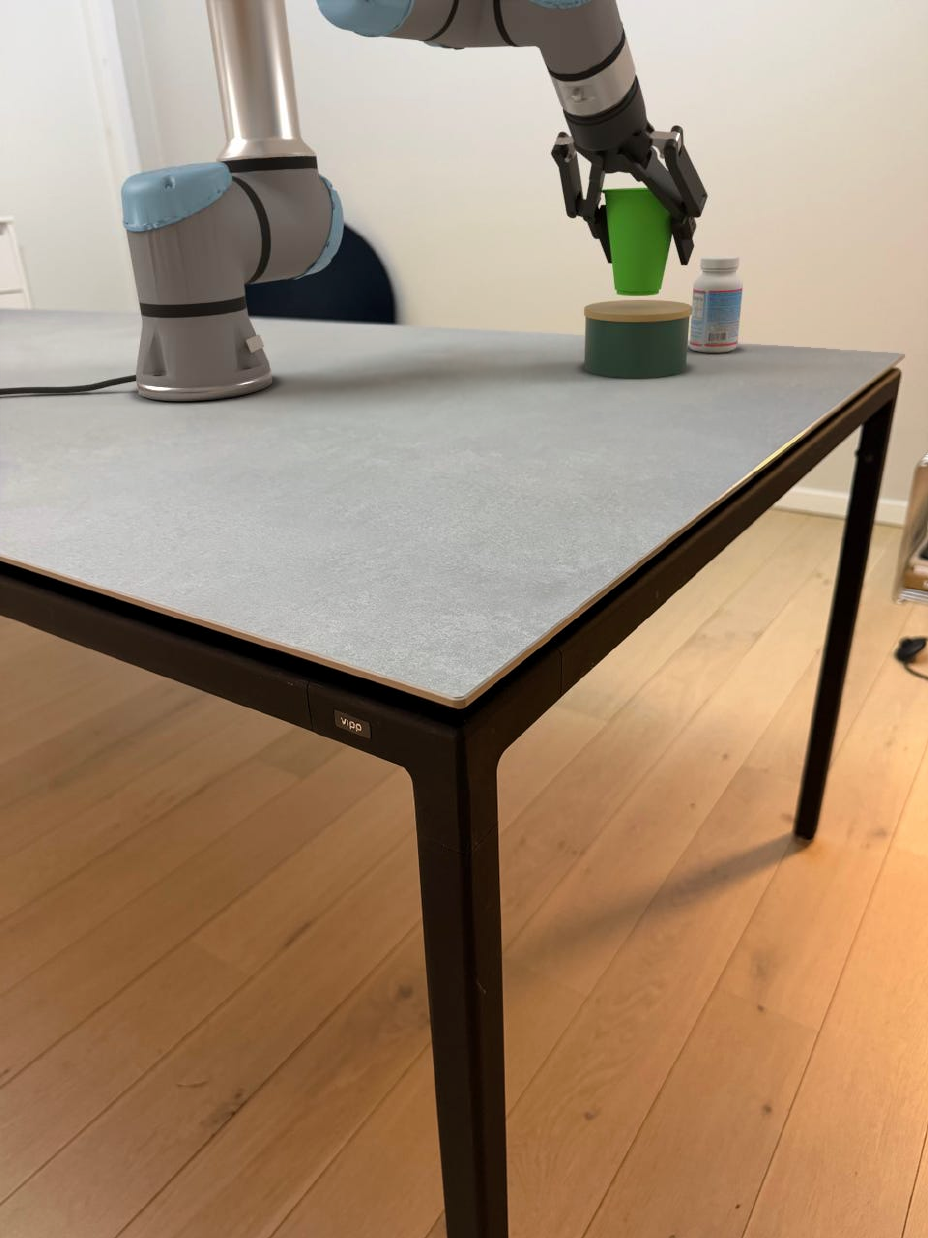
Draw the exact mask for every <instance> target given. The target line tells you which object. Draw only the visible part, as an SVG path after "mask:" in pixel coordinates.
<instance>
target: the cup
mask: <svg viewBox="0 0 928 1238" xmlns="http://www.w3.org/2000/svg"><path fill="white" fill-rule="evenodd" d="M601 194H604V203H605V205H606V212H607V221H608V230H609V240H610V249H611V259H612V264H611V268H612V274H613V276H612V277H613V286H614V290H615V291H616V295H618V296H625V297H626V296H627V297H643V296H644V297H645V296H647V297H648V296H656V295H659V294H660V290H662V285H663V282H664V277H665V271H666V268H667V267H666V266H667V263H668V257H669V253H670V248H671V242H672V239H673V235H672V231H671V228H670V221H671V219H672V215H671V214H670V213H669V212H668V210H667V209H666V208H665V207H664V206H663V205H662V204H661V202H660V201H659V200H658V199H657V198H656V197H655V196H654V194H653V193H652V192H651V191H650V190H649V189H648V188H647V187H623V188H604V189H602V193H601Z"/></svg>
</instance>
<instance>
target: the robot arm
mask: <svg viewBox="0 0 928 1238" xmlns="http://www.w3.org/2000/svg"><path fill="white" fill-rule="evenodd" d="M204 2H205V8H206V15H207V22H208V28H209V33H210V34H209V35H210V42H211V48H212V55H213V61H214V67H215V75H216V82H217V88H218V93H219V102H220V107H221V112H222V113H221V114H222V120H223V121H222V122H223V127H224V128H223V129H224V133H225V141H226V142H225V145H224V147H223V149H222V150H221V151H220V152H219V154H218V156H217V157H216V158H215V161H208V162H207V161H206V162H197V163H188V164H181V165H178V166H176V165H175V166H168V167H167V166H166V167H161V168H156V169H150V170H147V171H141V172H138V173H135V174H132V175H130V176H129V177H127V178H126V179H125V180H124V182H123V183H122V185H121V188H120V198H121V207H122V208H121V209H122V226H123V227H124V229H125V233H126V239H127V243H128V248H129V254H130V259H131V265H132V266H131V267H132V271H133V276H134V282H135V288H136V293H137V297H138V298H137V299H138V302H139V310H140V315H141V321H142V323H141V324H142V325H141V333H140V339H139V340H140V341H139V349H138V355H137V361H136V371H135V374H132V375H131V374H130V375H127V376H122V377H117V378H112V379H106V380H102V381H99V382H95V383H91V384H89V383H88V384H83V385H82V384H81V385H71V386H20V387H4V388H3V387H1V388H0V396H5V395H6V396H7V395H25V394H26V395H28V394H29V395H30V394H74V393H85V392H93V391H97V390H101V389H105V388H109V387H113V386H119V385H123V384H124V385H125V384H129V383H133V382H135V383H136V387H137V392H138V395H140V396H142V397H143V398H147V399H151V400H157V401H169V402H194V401H195V402H196V401H206V400H207V401H208V400H218V399H219V400H220V399H226V398H231V397H238V396H242V395H247V394H251V393H255V392H258V391H260V390H263V389H266V388H267V387H269V386H270V385H271V384H272V383H273V376H272V375H273V374H272V369H271V365H270V361H269V360H268V357H267V355H266V352H265V350H264V348H265V344H264V342H263V340H262V337H261V335H260V334H257V333H256V331H255V328H254V326H253V323H252V321H251V319H250V316H249V311H248V307H247V306H248V305H247V297H246V289H245V286H247V285H253V284H261V283H267V282H274V281H281V280H299V279H301V278H303V277H305V276H309V275H313V274H316V273H318V272H320V271H322V270H324V269H325V268H326V267H327V266H328V265H329V264H330V263H332V259H333V257H334V256H335V255H336V254H337V253H338V251H339V248H340V246H341V244H342V239H343V234H344V225H345V220H344V219H345V218H344V217H345V216H344V210H343V209H344V208H343V204H342V199H341V197H340V196H339V195H340V194H339V192H338V191H337V190H335V189H334V188H333V184H332V182H331V181H330V180H329V179H328V178H326V177H325V176H324V175H322V174H320V173H319V165H318V157H317V153H316V152H315V151H314V150H313V149H312V148H311V147H310V146H309V145H308V144H307V143H306V142H305V141H304V139H303V137H302V132H301V124H300V115H299V108H298V100H297V99H298V98H297V91H296V82H295V75H294V74H295V73H294V65H293V57H292V56H293V55H292V49H291V40H290V33H289V24H288V15H287V7H286V0H204ZM315 2H316V3H317V6H318V11H319V12H320V13H321V15H322V17H324V18H325V20H326V21H328V22H329V23H330V24H331V25H332V26H334V27H336V28H338V29H341V30H342V31H343V30H344V31H349V32H353V33H354V34H356V35H358V36H360V37H363V38H364V37H366V38H381V37H382V38H391V39H401V40H411V41H418V42H422V43H424V44H425V45H427V46H430V47H433V48H442V49H447V50H449V49H453V50H455V51H460V50H464V49H468V48H469V49H472V48H473V49H475V48H477V49H478V48H479V49H480V48H503V47H504V48H505V47H507V48H508V47H513V48H525V47H526V48H527V47H528V48H529V47H530V48H531V47H536V48H538V49H539V51H540V54H541V56H542V59H543V62H544V64H545V66H546V70H547V72H548V75H549V77H550V80H551V82H552V85H553V88H554V91H555V94H556V96H557V99H558V102H559V104H560V106H561V108H562V114H563V116H564V119H565V122H566V125H567V128H568V130H569V133H570V135H569V134H568V133H567V132H565V131H559V133H558V134H557V136H556V138H555V141H554V144H553V146H552V148H551V151H550V156H551V158H552V159H553V161H554V163H555V164H556V166H557V167H558V173H559V179H560V184H561V191H562V196H563V201H564V207H565V213H566V215H567V217H568V218H570V219H576V218H577V217H580V218H582V220H583V221H584V222H586V223H587V226H588V228H589V231H590V234H591V236H592V237H593V239H594V240H598V241H599V243H600V246H601V248H602V250H603V253H604V256H605V258H606V261H607V264H611V265H612V259H611V249H610V240H609V230H608V221H607V212H606V204H600V203H601V201H602V194H603V193H602V190H603V187H604V183H605V178H606V175H608V174H609V175H610V174H616V173H623V174H630V175H631V176H632V177H633V179H634V180H635V181H636V182H638V183H640V182H642V184H643V185H645V187H646V188H648V189H649V190H650V191H651V192H652V193H653V194H654V196H655V197H656V198H657V199H658V200H659V201H660V202H661V204H662V205H663V206H664V207H665V208H666V209H667V210H668V212H669V213H670V214H671V215H672V219H671V221H670V228H671V231H672V239H673V242H674V244H675V248H676V253H677V256H678V259H679V264H680V266H688V265H689V262H690V260H691V257H692V253H693V251H694V248H695V243H694V239H693V238H694V235H695V233H696V229H697V223H696V219H698V218H700V217H701V216H702V213H703V212H704V208H705V206H706V202H707V200H708V198H709V197H708V195H709V194H708V193H707V190H706V188H705V186H704V184H703V182H702V180H701V178H700V176H699V173H698V171H697V169H696V167H695V165H694V163H693V161H692V159H691V156H690V155H689V151H688V150H687V148H686V147H685V142H684V140H685V139H684V129H683V127H682V126H680V125H678V124H677V125H673V126H672V127H671V128H670V131H659V130H656V129H655V127H654V126H653V124H651V123H650V122H649V120H648V118H647V109H646V103H645V99H644V96H643V92H642V88H641V85H640V80H639V77H638V75H637V73H636V71H637V69H636V65H635V61H634V59H633V55H632V51H631V48H630V45H629V41H628V37H627V33H626V31H625V28H624V23H623V21H622V20H621V16H620V12H619V7H618V3H617V0H315ZM654 147H655V148H657V150H658V152H659V157H658V152H657V150H656V149H655V148H654ZM578 154H579V155H581V156H582V157H583V158H584V159H585V160H586V161H588V162H589V163H590V164H591V165H590V170H589V176H588V185H587V191H586V196H585V198H584V192H583V185H582V178H581V171H580V165H579V158H578ZM660 159H661V160H664V164H665V165H664V164H663V163H662V161H661V160H660Z"/></svg>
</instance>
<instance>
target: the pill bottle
mask: <svg viewBox="0 0 928 1238" xmlns="http://www.w3.org/2000/svg"><path fill="white" fill-rule="evenodd" d="M699 267H700V271H701V275H699V276H698V277H696V279H695V280H694V282H693V286H692V287H693V289H692V302H691V303H692V304H691V306H692V314H691V315H690V316H691V317H690V318H691V319H690V331H689V332H690V336H689V348H690V350H692V351H694V352H698V353H708V354H709V353H710V354H714V353H716V354H719V353H729V352H731V351H734V350H736V349H737V348H738V343H739V335H740V334H739V333H740V321H741V320H740V319H741V309H742V298H743V288H744V287H743V286H744V282H743V280H742V278H741V277H740V276H739V275H737V270H739V267H740V256H738V255H730V254H719V255H716V254H715V255H706V256H705V255H704V256H701V258H700V265H699Z"/></svg>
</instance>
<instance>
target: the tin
mask: <svg viewBox="0 0 928 1238" xmlns="http://www.w3.org/2000/svg"><path fill="white" fill-rule="evenodd" d="M691 315H692V304H688V303H685V302H680V301H674V300H662V299H661V300H660V299H623V300H622V299H621V300H609V301H600V302H594V303H591V304H587V305H585V306H584V307H583V316H584V317H585V321H584V323H585V324H584V329H585V330H584V355H583V356H584V358H583V359H584V360H583V368H584V370H585V371H586V372H587V373H590V374H593V375H596V376H601V377H608V378H615V379H617V378H618V379H653V378H655V379H656V378H662V377H670V376H674V375H678V374H681V373H683V372H685V371H686V369H687V368H686V367H687V359H688V358H687V357H688V344H689V332H690V331H689V330H690V329H689V328H690V318H691V317H690V316H691Z"/></svg>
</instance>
